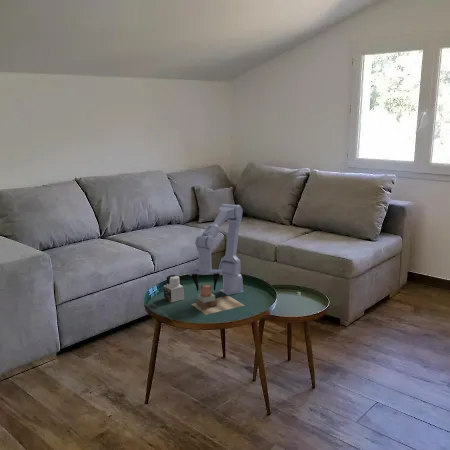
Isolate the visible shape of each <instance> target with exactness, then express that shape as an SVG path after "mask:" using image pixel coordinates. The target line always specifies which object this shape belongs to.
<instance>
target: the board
mask: <svg viewBox="0 0 450 450" xmlns="http://www.w3.org/2000/svg"><path fill="white" fill-rule="evenodd" d="M215 300H216V301H217V306H214V307H210V308H206V309H203V308H201V307H200V306H198V305H197V303H196V302H194V303H191V305H192V306H193V307H195V309H198V310H199V311H200V312H201V313H203V314H204V315H206V316H207V315H210V314H211V315H212V314H215V313H219V312H223V311H228V310H232V309H236V308H241V307H244V306H245V304H243V303H242V302H240V301H238V300H237V299H235V298H233V297H232V296H230V295H226V296H221V297H217V298H216V297H215Z"/></svg>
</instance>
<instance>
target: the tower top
mask: <svg viewBox="0 0 450 450" xmlns="http://www.w3.org/2000/svg"><path fill="white" fill-rule="evenodd" d="M197 299H198V300H200V301H201V302H203V303H207V302H211V301H215V299H216V295H215V294H214V293H212V292H211V296H208V297H203V296H201V293H197Z"/></svg>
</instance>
